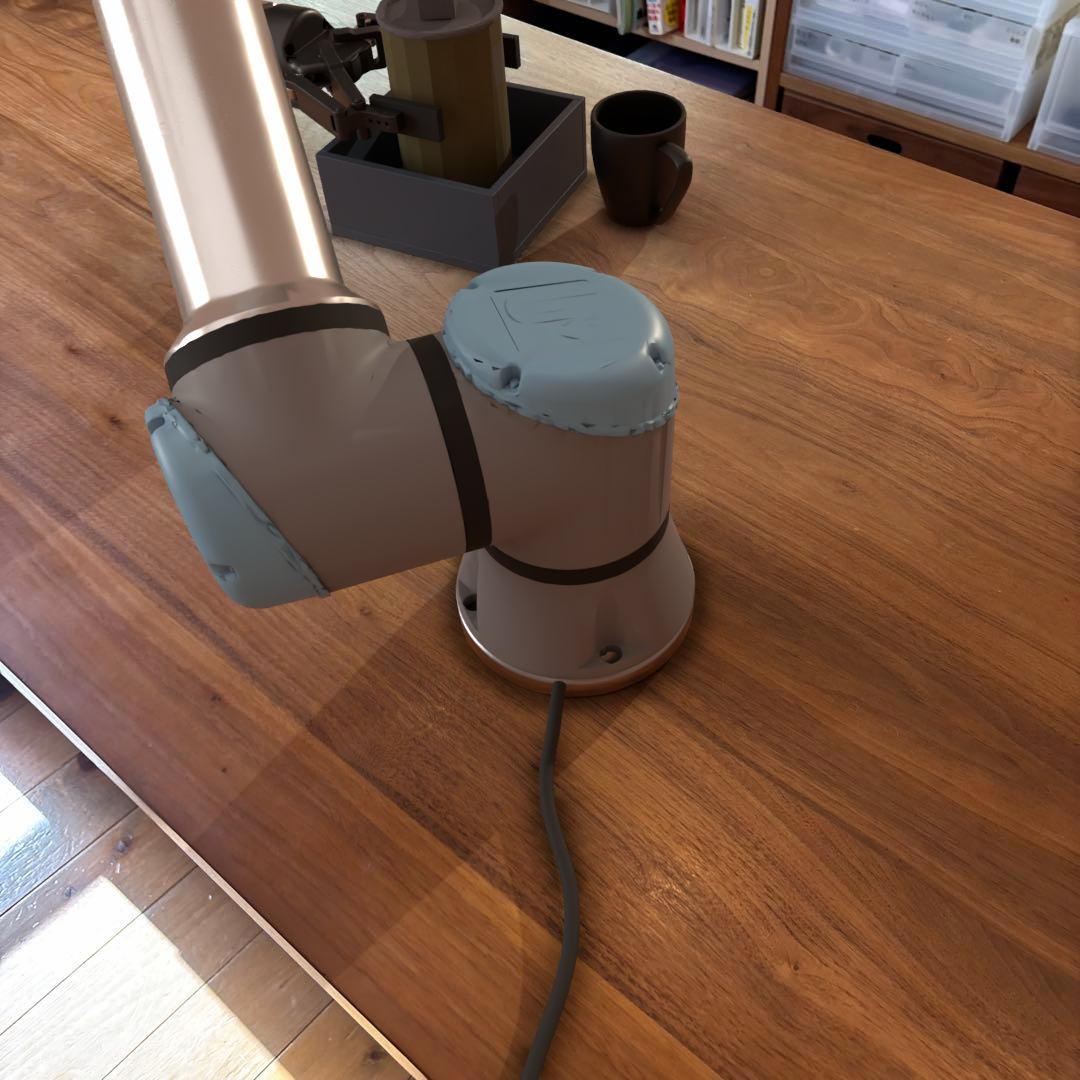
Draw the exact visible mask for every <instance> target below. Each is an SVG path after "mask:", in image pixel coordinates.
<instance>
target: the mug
mask: <svg viewBox="0 0 1080 1080" xmlns="http://www.w3.org/2000/svg"><path fill="white" fill-rule="evenodd" d="M687 115H688V114H687V109H686V106H685V105H684V103H683V102H681V100H679V99H678V98H676V97H675V96H672V95H670V94H669V93H666V92H661V91H657V90H649V89H631V90H625V91H624V90H623V91H620V92H616V93H612V94H610V95H607V96H605V97H604V98H601V99H600V100H599V101H598V102H597V103H595V104H594V106H593V107H592V109H591V111H590V116H589V122H590V123H589V125H590V128H589V129H590V151H591V152H590V153H591V159H592V165H593V169H594V174H595V177H596V181H597V185H598V189H599V192H600V195H601V198H602V201H603V204H604V206H605V209H606V214H607V216H608V217H609V219H610V220H611V221H612V222H614V223H616V224H618V225H620V226H623V227H628V228H645V227H649V226H653V225H654V226H662V225H664V224H666V223H667V222H668V221H669V220H670V219H671V218H672V217H673V216H674V214H675V213H676V211H677V209H678V208H679V206H680V205H681V203H682V201H683V199H684V198H685V196H686V194H687V192H688V190H689V188H690V186H691V183H692V179H693V175H694V174H693V173H694V163H693V160H692V158H691V156H690V154H689V153H688V152H687V151H686V149H685V148H686V135H687V134H686V133H687Z"/></svg>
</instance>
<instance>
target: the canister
mask: <svg viewBox="0 0 1080 1080" xmlns="http://www.w3.org/2000/svg"><path fill="white" fill-rule="evenodd" d="M503 8H504V0H380V1H379V3H378V5H377V6H376V9H375V11H374V13H376V19H377V22H378V24H379V25H380V27H381V33H382V40H383V46H384V52H385V58H386V65H387V67H386V70H387V77H388V83H389V91H390V90H391V96H392V97H394V98H399V99H404V100H409V101H414V102H419V103H424V104H429V105H434V106H439V107H441V108H442V116H443V124H444V132H445V139H444V140H443V141H442V142H441V143H440V142H435V141H431V140H426V139H421V138H417V137H412V136H407V135H403V134H398V133H397V134H398V140H399V146H400V152H401V159H402V165H403V170H407V171H411V172H416V173H420V174H425V175H429V176H433V177H438V178H442V179H446V180H451V181H455V182H459V183H464V184H468V185H473V186H477V187H481V188H486V189H490V188H491V187H492V186H493V185H494V184H495V183H496V182H497V181H498V180H499V178H500V177H501V176H502V175H503V174H504V173H505V172H506V171H507V170H508V169H509V168H510V167H511V166H512V165H513V162H512V150H511V137H510V125H509V112H508V100H507V87H506V82H507V75H506V74H507V73H506V67H505V62H504V49H503V37H502V33H503V27H502V26H503V25H502V12H503Z"/></svg>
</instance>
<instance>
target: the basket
mask: <svg viewBox="0 0 1080 1080" xmlns="http://www.w3.org/2000/svg"><path fill="white" fill-rule="evenodd" d="M506 87H507V100H508V112H509V125H510V137H511V150H512V162H513V165H512V166H511V167H510V168H509V169H508V170H507V171H506V172H505V173H504V174H503V175H502V176H501V177H500V178H499V180H498V181H497V182H496V183H495V184H494V185H493V186H492V187H491V188H490V189H486V188H481V187H477V186H473V185H468V184H464V183H459V182H455V181H451V180H446V179H442V178H438V177H433V176H429V175H425V174H420V173H416V172H411V171H407V170H403V165H402V159H401V152H400V146H399V140H398V134H397V133H389V132H384V131H380V130H375V129H371V133H372V137H371V138H370V139H368V140H360V139H358V135H357V130H355V131H353V132H352V138H351V139H349V140H346V141H342V140H339V139H338V138H336V137H335V136H334V138H333V139H331V140H330V141H329V142H328V143H327V144H326V145H324V146H323V147H322V148H321V149H320V150H319V151H317V152H316V153H315V154H314V158H315V162H316V167H317V170H318V174H319V179H320V185H321V189H322V192H323V197H324V201H325V202H324V203H325V206H326V210H327V215H328V219H329V223H330V228H331V231H332V235H334V236H337V237H342V238H345V239H349V240H354V241H357V242H361V243H365V244H368V245H373V246H377V247H380V248H384V249H388V250H391V251H392V250H393V251H395V252H399V253H404V254H407V255H412V256H415V257H419V258H422V259H426V260H431V261H434V262H438V263H442V264H444V265H445V264H446V265H449V266H454V267H458V268H462V269H464V270H465V269H466V270H469V271H473V272H477V273H480V274H483V273H485V272H487V271H490V270H492V269H495V268H498V267H502V266H507V265H512V264H515V262H516V261H517V260H518V259H519V257H520V256H521V255H522V254H523V253H524V252H525V250H526V249H527V248H528V247H529V246H530V245H531V243H532V242H533V241H534V240H535V239H536V237H538V235H539V234H540V233H541V232H542V230H543V229H544V228H545V227H546V226H547V224H548V223H549V222H550V221H551V220H552V219H553V218H554V216H555V215H556V214H557V213H558V212H559V210H561V208H562V207H563V206H564V204H566V203H567V201H568V200H569V199H570V197H572V195H573V194H574V193H575V191H576V190H577V189H578V188H579V187H580V186H581V185H582V184H583V182H584V181H585V180H586V179H587V178H588V153H587V152H588V148H587V147H588V146H587V145H588V143H587V141H588V140H587V107H586V106H587V105H586V96H584V95H579V94H575V93H574V94H573V93H570V92H569V93H568V92H563V91H558V90H552V89H547V88H542V87H537V86H531V85H527V84H521V83H515V82H510V81H506ZM384 95H385V96H389V97H392V96H391V90H390V89H389V90H388V91H387V92H386V93H385V94H384Z"/></svg>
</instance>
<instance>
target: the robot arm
mask: <svg viewBox="0 0 1080 1080" xmlns="http://www.w3.org/2000/svg"><path fill="white" fill-rule="evenodd" d="M91 3H92V7H93V12H94V15H95V17H96V22H97V25H98V28H99V32H100V35H101V39H102V42H103V46H104V50H105V53H106V57H107V60H108V63H109V67H110V71H111V74H112V77H113V82H114V84H115V88H116V93H117V96H118V98H119V102H120V107H121V110H122V112H123V116H124V120H125V124H126V127H127V131H128V134H129V138H130V142H131V145H132V148H133V151H134V156H135V158H136V162H137V166H138V170H139V173H140V176H141V179H142V183H143V187H144V191H145V194H146V197H147V201H148V205H149V209H150V211H151V215H152V219H153V222H154V226H155V229H156V233H157V237H158V240H159V244H160V247H161V250H162V253H163V258H164V261H165V264H166V268H167V273H168V275H169V279H170V283H171V286H172V289H173V293H174V296H175V297H174V298H175V301H176V304H177V307H178V310H179V311H178V312H179V314H180V317H181V321H182V328H181V330H180V332H179V333H178V334H177V335H176V337H175V340H173V342H172V344H171V345H170V347H169V349H168V350H167V351H166V353H165V355H164V357H163V369H164V373H165V377H166V380H167V384H168V388H169V390H170V394H171V395H170V397H171V398H168V397H167V396H166V397H165V396H164V397H159V398H158V399H157V400H156V402H155V403H153V404H151V405H149V406H148V407H147V408H146V410H145V412H144V423H145V426H146V428H147V430H148V434H149V437H150V443H151V446H152V449H153V452H154V455H155V458H156V460H157V462H158V465H159V467H160V470H161V473H162V475H163V478H164V480H165V482H166V485H167V487H168V490H169V492H170V494H171V496H172V499H173V501H174V503H175V506H176V507H177V509H178V511H179V514H180V516H181V518H182V520H183V522H184V524H185V526H186V528H187V530H188V532H189V534H190V536H191V538H192V540H193V542H194V544H195V546H196V548H197V550H198V551H199V553H200V555H201V557H202V559H203V561H204V563H205V565H206V567H207V568H208V570H209V572H210V573H211V575H212V576H213V578H214V580H215V581H216V583H217V584H218V586H219V587H220V589H221V590H222V591H223V592H224V594H226V596H228V597H229V599H231V600H232V601H233V602H235V603H237V604H238V605H240V606H242V607H245V608H248V609H254V610H264V609H270V608H274V607H278V606H282V605H286V604H290V603H294V602H300V601H303V600H307V599H311V598H316V597H318V598H320V599H326V598H329V597H331V596H332V595H331V593H334V592H337V591H342V590H345V589H348V588H352V587H355V586H358V585H361V584H365V583H368V582H373V581H375V580H378V579H383V578H385V577H388V576H393V575H396V574H400V573H403V572H406V571H409V570H412V569H416V568H419V567H424V566H426V565H430V564H434V563H438V562H441V561H444V560H447V559H451V558H454V557H458V556H461V555H462V558H461V561H460V563H459V567H458V571H457V575H456V582H455V599H456V605H457V611H458V616H459V621H460V622H459V623H460V626H461V628H462V632H463V634H464V637H465V639H466V641H467V643H468V645H469V647H470V648H471V649H472V651H473V652H474V653H475V655H476V656H477V657H478V658H479V659H480V660H481V662H482V663H483V664H484V665H486V666H487V668H489V669H491V671H492V672H493V673H496V675H498V676H500V677H501V678H503V679H504V680H506V681H508V682H510V683H512V684H514V685H517V686H518V687H520V688H523V689H526V690H529V691H532V692H536V693H540V694H544V695H549V696H550V699H549V700H550V701H549V706H548V712H547V720H546V726H545V733H544V739H543V744H542V748H541V753H540V760H539V767H538V768H539V769H538V794H539V801H540V809H541V814H542V819H543V823H544V827H545V830H546V834H547V838H548V841H549V844H550V847H551V851H552V853H553V857H554V860H555V864H556V867H557V871H558V874H559V879H560V883H561V889H562V897H563V909H564V913H563V915H564V916H563V918H564V919H563V923H564V924H563V935H562V943H561V950H560V956H559V960H558V961H559V962H558V966H557V970H556V974H555V977H554V981H553V985H552V988H551V991H550V995H549V998H548V1001H547V1002H546V1003H547V1004H546V1006H545V1008H544V1012H543V1014H542V1017H541V1020H540V1022H539V1025H538V1027H537V1028H538V1029H537V1030H536V1033H535V1036H534V1039H533V1040H532V1044H531V1046H530V1050H529V1052H528V1055H527V1058H526V1061H525V1063H524V1066H523V1069H522V1072H521V1075H520V1079H519V1080H540V1076H541V1073H542V1070H543V1067H544V1065H545V1061H546V1059H547V1055H548V1053H549V1050H550V1047H551V1044H552V1042H553V1039H554V1036H555V1034H556V1031H557V1028H558V1025H559V1023H560V1020H561V1017H562V1015H563V1011H564V1008H565V1005H566V1003H567V999H568V997H569V992H570V988H571V985H572V983H573V978H574V973H575V968H576V965H577V964H576V963H577V957H578V953H579V944H580V932H581V901H580V894H579V887H578V882H577V877H576V873H575V872H576V871H575V869H574V865H573V862H572V858H571V855H570V852H569V849H568V846H567V844H566V840H565V837H564V834H563V831H562V828H561V823H560V819H559V815H558V811H557V805H556V800H555V788H554V771H555V761H556V756H557V752H558V747H559V741H560V735H561V727H562V719H563V713H564V705H565V698H566V697H568V698H570V697H571V698H573V697H575V698H576V697H590V696H591V697H592V696H598V695H604V694H608V693H612V692H616V691H619V690H622V689H625V688H628V687H630V686H632V685H634V684H636V683H638V682H641V681H642V680H644V679H646V678H648V677H649V676H651V675H652V674H653V673H655V672H656V671H658V670H659V669H660V668H661V667H663V666H664V665H665V664H666V663H667V662H668V661H669V660H670V659H671V658H672V657H673V656H674V655H675V654H676V652H677V651H678V649H679V648H680V647H681V646H682V643H683V642H684V640H685V638H686V637H687V634H688V631H689V629H690V626H691V624H692V619H693V615H694V609H695V608H694V607H695V595H696V578H695V571H694V566H693V563H692V560H691V558H690V555H689V553H688V550H687V549H686V546H685V545H684V543H683V541H682V539H681V537H680V533H679V531H678V528H677V526H676V524H675V520H674V519H673V517H672V514H671V511H670V507H671V506H670V505H671V492H672V491H671V490H672V475H673V474H672V473H673V456H674V455H673V454H674V440H675V438H674V437H675V424H676V423H675V421H676V411H677V408H678V405H679V400H680V388H679V385H678V380H677V377H676V352H675V351H676V350H675V349H676V348H675V342H674V336H673V334H672V330H671V328H670V325H669V324H668V321H667V320H666V318H665V316H664V315H663V313H662V311H661V310H660V309H659V307H658V306H657V305H656V304H655V303H654V302H653V301H652V300H651V299H650V298H649V297H648V296H646V295H645V294H644V293H643V292H641V291H640V290H639V289H637V288H636V287H635V286H633V285H631V284H630V283H628V282H627V281H624V280H622V279H620V278H618V277H616V276H614V275H611V274H607V273H603V272H600V271H598V270H595V269H594V268H592V267H589V266H585V265H580V264H575V263H567V262H559V261H528V262H526V261H525V262H518V263H517V262H516V263H513V264H512V265H507V266H502V267H498V268H495V269H492V270H490V271H487V272H485V273H480V274H478V275H477V276H475V277H473V278H472V279H470V280H469V281H468V282H467V285H466V288H461V289H459V290H458V291H457V292H456V293H455V294H454V295H453V296H452V297H451V299H450V301H449V303H448V305H447V308H446V310H445V314H444V318H443V320H442V322H441V324H442V328H441V330H440V331H436V332H434V333H429V334H426V335H421V336H417V337H414V338H409V339H405V340H400V341H393V340H392V337H391V335H390V331H389V327H388V325H387V321H386V318H385V315H384V313H383V310H382V308H381V307H380V306H379V305H378V304H377V303H376V302H374V301H372V300H369V298H366V297H364V296H362V295H360V294H358V293H356V292H354V291H353V290H351V289H349V288H348V286H346V284H345V281H344V277H343V275H342V271H341V268H340V265H339V261H338V257H337V254H336V251H335V247H334V244H333V240H332V236H331V234H330V230H329V228H328V224H327V220H326V218H325V213H324V210H323V207H322V204H321V199H320V197H319V193H318V189H317V186H316V183H315V180H314V176H313V172H312V170H311V166H310V162H309V160H308V155H307V152H306V149H305V146H304V145H305V144H304V142H303V139H302V135H301V132H300V128H299V125H298V122H297V118H296V116H295V111H294V109H297V110H299V111H300V112H302V113H303V114H304V115H306V116H307V117H308V118H309V119H311V120H312V121H314V122H315V123H316V124H318V125H319V126H320V127H321V128H323V129H324V130H326V131H327V132H328V133H329V134H331V135H332V136H333V137H334V138H335V137H336V138H338V139H339V140H342V141H346V140H349V139H351V138H352V132H353V131H355V130H357V135H358V139H360V140H368V139H370V138H371V137H372V133H371V129H375V130H380V131H384V132H389V133H398V134H403V135H407V136H412V137H417V138H421V139H426V140H431V141H435V142H440V143H441V142H442V141H443V140H444V139H445V132H444V124H443V116H442V108H441V107H439V106H434V105H429V104H424V103H419V102H414V101H409V100H404V99H399V98H394V97H389V96H385V94H379V93H375V92H374V93H372V94H371V95H369V96H368V103H367V100H366V98H365V97H364V95H363V94H362V92H361V90H360V89H359V88H358V86H357V85H356V83H358V81H360V80H361V79H362V77H363V76H364V75H365V74H368V73H370V71H371V72H372V71H378V70H384V69H387V65H386V58H385V52H384V46H383V40H382V33H381V27H380V25H379V24H378V22H377V19H376V13H375V12H366V11H361V12H357V13H356V14H355V20H356V25H355V26H354V27H350V26H344V27H334V26H333V25H332V24H331V23H330V22H329V21H328V20H327V19H326V18H325V16H324V15H323V14H322V13H321V12H319V11H318V10H316V9H314V8H312V7H306V6H302V5H295V4H290V3H278V2H274V1H269V0H91ZM502 37H503V49H504V62H505V68H507V69H513V70H518V69H519V68H520V67H521V66H522V60H521V59H522V58H521V45H520V35H519V34H513V33H508V32H502ZM374 47H375V48H376V54H377V55H376V57H374V54H373V53H374V52H373V48H374ZM324 88H325V89H326V91H327V92H326V91H325V90H323V89H324Z"/></svg>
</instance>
